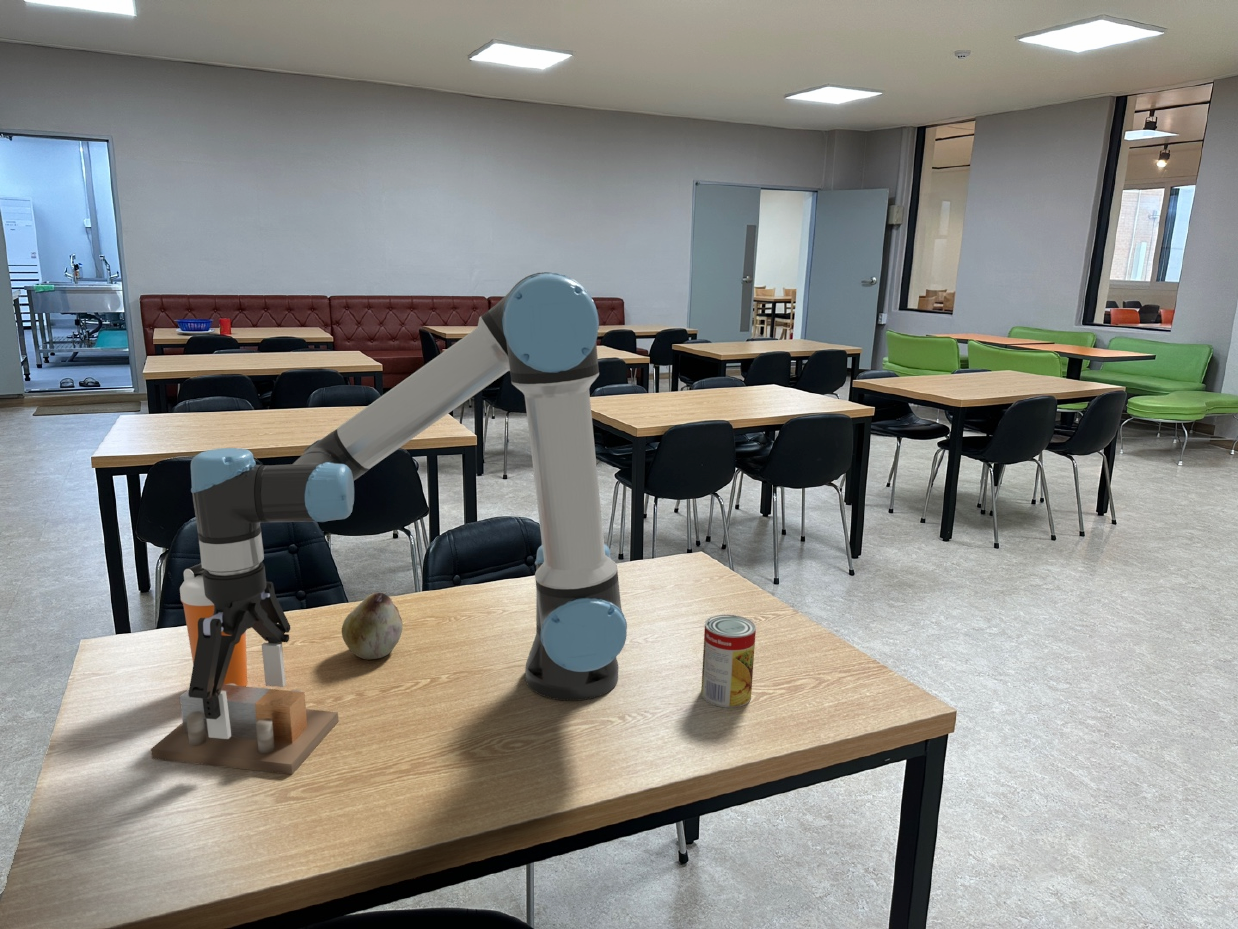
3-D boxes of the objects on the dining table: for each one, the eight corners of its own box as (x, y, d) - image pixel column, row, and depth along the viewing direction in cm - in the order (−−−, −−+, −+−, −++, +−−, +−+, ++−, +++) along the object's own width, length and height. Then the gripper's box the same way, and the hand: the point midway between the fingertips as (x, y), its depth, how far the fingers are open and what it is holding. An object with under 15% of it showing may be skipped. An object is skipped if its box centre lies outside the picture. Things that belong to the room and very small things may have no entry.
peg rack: (338, 721, 121) (336, 687, 119) (292, 774, 108) (289, 737, 107) (211, 708, 123) (207, 675, 122) (151, 759, 111) (147, 722, 109)
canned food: (757, 690, 133) (762, 621, 130) (740, 713, 126) (745, 640, 123) (712, 678, 136) (716, 610, 133) (693, 699, 129) (696, 628, 127)
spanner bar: (183, 732, 115) (179, 696, 113) (201, 716, 118) (198, 681, 117) (292, 743, 112) (289, 707, 111) (307, 727, 116) (304, 692, 115)
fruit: (376, 672, 135) (373, 604, 132) (330, 661, 139) (326, 594, 136) (414, 646, 144) (411, 582, 142) (369, 636, 148) (366, 573, 145)
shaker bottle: (229, 705, 124) (217, 580, 119) (177, 698, 126) (163, 575, 121) (265, 677, 133) (255, 559, 128) (216, 670, 134) (204, 554, 130)
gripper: (259, 533, 122) (272, 665, 127) (142, 601, 98) (164, 759, 103) (307, 536, 121) (318, 668, 126) (201, 605, 97) (220, 764, 102)
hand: (249, 709), depth 115 cm, fingers open, 13 cm apart
